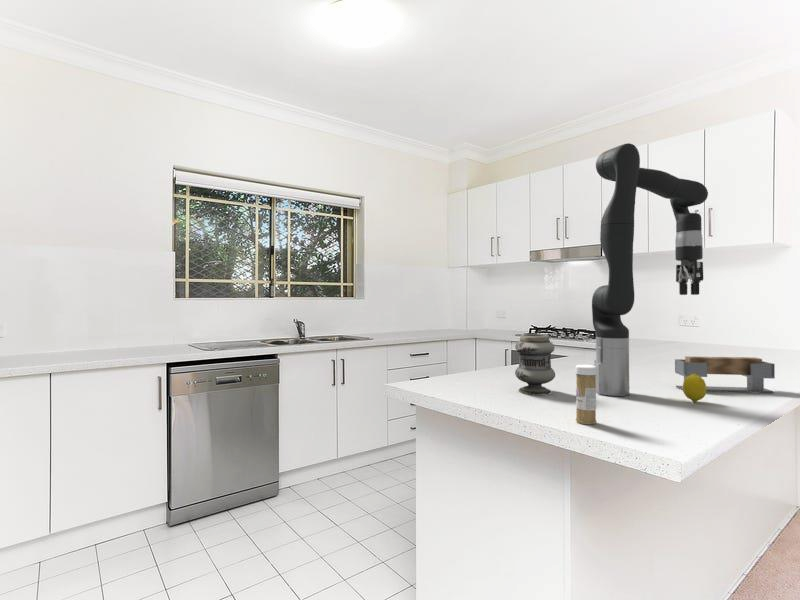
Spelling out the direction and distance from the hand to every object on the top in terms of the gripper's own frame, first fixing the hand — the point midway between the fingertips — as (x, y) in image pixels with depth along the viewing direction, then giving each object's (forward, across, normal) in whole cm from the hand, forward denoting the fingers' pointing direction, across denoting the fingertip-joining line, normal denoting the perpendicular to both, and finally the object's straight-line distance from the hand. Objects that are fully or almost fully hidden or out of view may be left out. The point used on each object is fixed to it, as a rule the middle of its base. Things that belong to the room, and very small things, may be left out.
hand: (689, 294), depth 147 cm
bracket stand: (+30, +6, +7) cm, 31 cm away
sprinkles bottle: (+30, +51, -43) cm, 73 cm away
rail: (+25, +6, +7) cm, 27 cm away
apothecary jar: (+30, +17, -51) cm, 62 cm away
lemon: (+30, +25, -9) cm, 40 cm away
